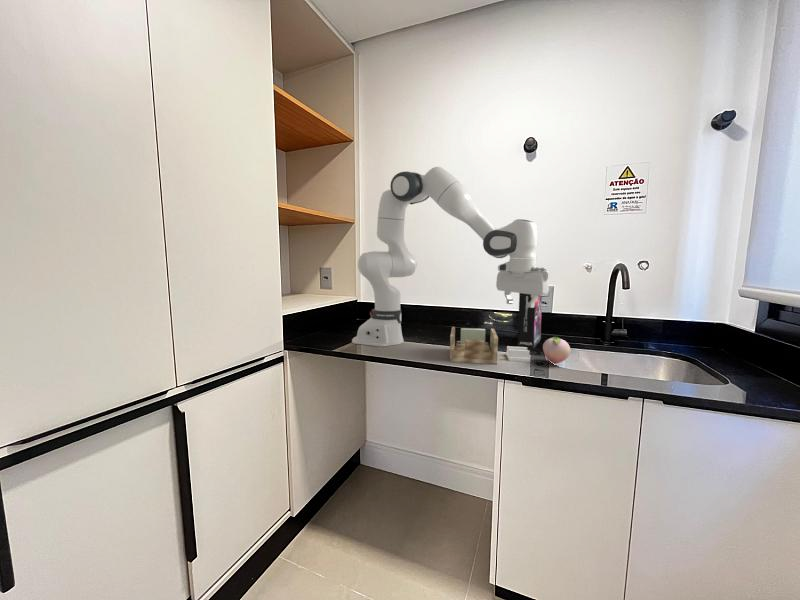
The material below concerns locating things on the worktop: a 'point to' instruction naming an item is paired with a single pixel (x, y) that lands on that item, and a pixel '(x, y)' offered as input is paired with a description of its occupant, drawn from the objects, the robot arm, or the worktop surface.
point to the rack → (487, 355)
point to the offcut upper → (474, 345)
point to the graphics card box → (529, 321)
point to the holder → (518, 354)
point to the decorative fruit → (556, 349)
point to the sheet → (472, 334)
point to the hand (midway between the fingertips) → (519, 305)
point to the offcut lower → (472, 354)
